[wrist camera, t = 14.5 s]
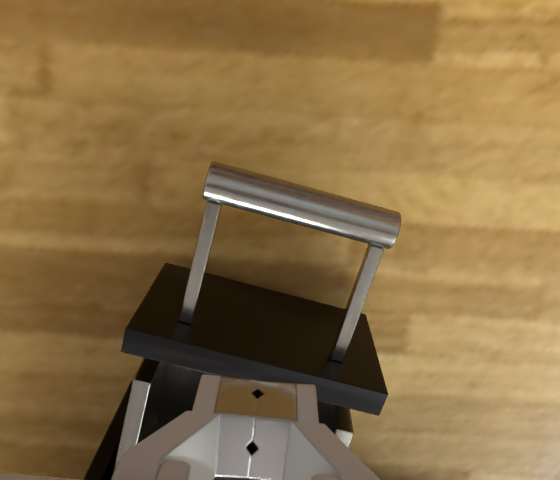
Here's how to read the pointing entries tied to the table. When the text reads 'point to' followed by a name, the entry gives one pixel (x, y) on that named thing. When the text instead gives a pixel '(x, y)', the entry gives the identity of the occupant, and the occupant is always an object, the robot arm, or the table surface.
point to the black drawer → (258, 316)
